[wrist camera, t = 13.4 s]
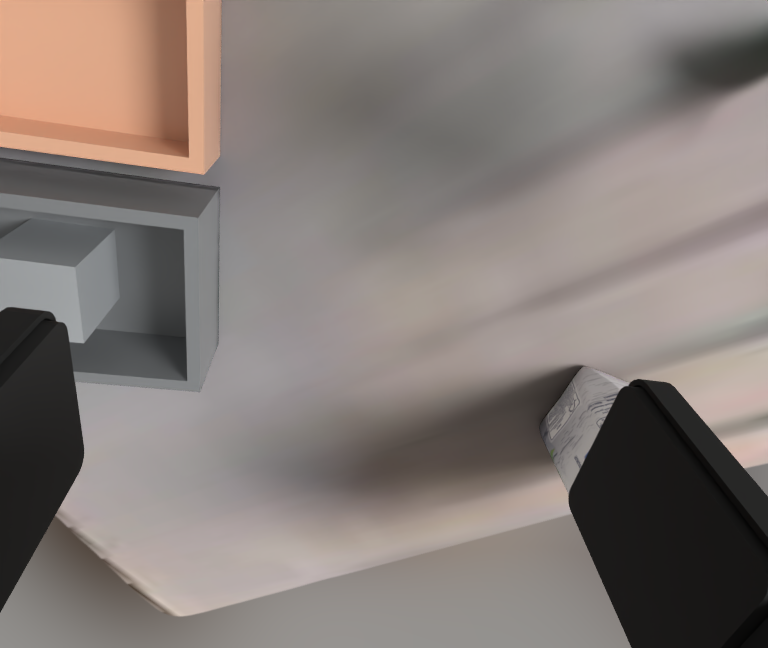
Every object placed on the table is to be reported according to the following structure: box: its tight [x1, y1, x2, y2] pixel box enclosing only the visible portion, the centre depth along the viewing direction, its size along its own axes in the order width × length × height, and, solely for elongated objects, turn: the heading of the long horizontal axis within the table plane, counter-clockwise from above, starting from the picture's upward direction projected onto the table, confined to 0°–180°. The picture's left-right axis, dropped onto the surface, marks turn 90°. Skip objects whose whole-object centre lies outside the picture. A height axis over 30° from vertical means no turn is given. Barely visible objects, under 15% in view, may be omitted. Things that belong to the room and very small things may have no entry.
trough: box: [0, 0, 222, 174], centre depth 28 cm, size 12×18×4 cm, turn 81°
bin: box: [0, 158, 220, 392], centre depth 34 cm, size 12×18×6 cm, turn 81°
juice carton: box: [539, 367, 630, 494], centre depth 35 cm, size 9×10×27 cm
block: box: [0, 218, 120, 343], centre depth 33 cm, size 5×5×6 cm
